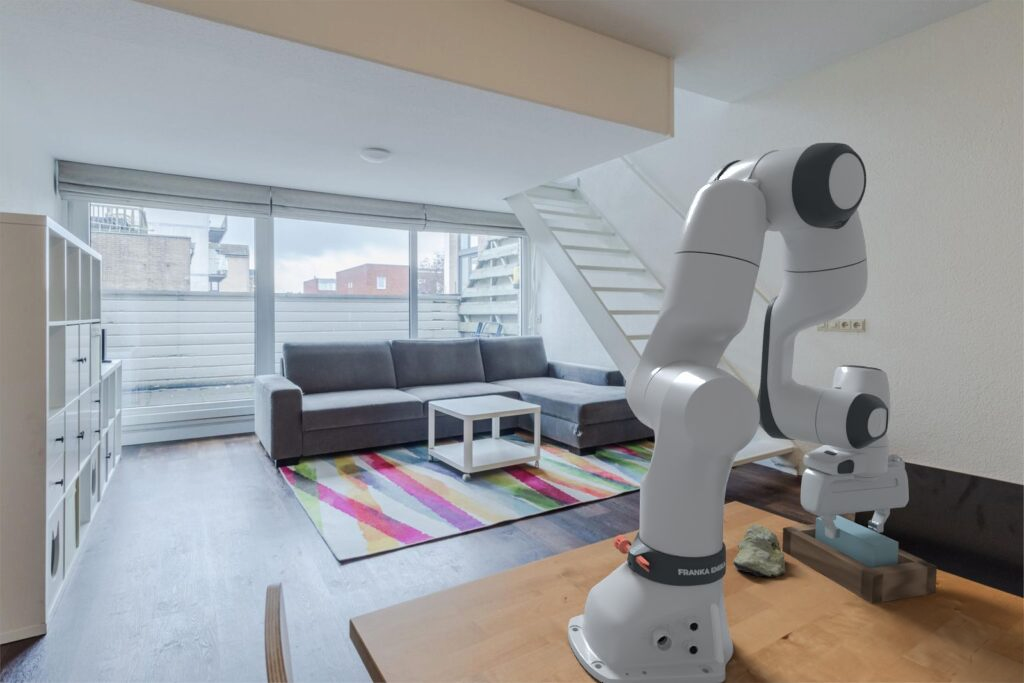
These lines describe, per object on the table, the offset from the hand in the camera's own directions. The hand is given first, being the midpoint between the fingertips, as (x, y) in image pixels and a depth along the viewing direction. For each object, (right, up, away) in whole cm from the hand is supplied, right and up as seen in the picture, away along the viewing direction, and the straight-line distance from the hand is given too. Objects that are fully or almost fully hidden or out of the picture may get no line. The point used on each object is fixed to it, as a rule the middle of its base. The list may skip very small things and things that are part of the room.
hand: (854, 534), depth 94 cm
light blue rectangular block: (0, -3, 0) cm, 3 cm away
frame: (0, -7, 0) cm, 6 cm away
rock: (-16, -7, +3) cm, 18 cm away
